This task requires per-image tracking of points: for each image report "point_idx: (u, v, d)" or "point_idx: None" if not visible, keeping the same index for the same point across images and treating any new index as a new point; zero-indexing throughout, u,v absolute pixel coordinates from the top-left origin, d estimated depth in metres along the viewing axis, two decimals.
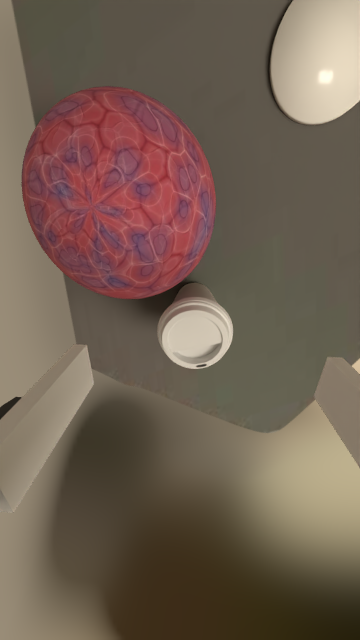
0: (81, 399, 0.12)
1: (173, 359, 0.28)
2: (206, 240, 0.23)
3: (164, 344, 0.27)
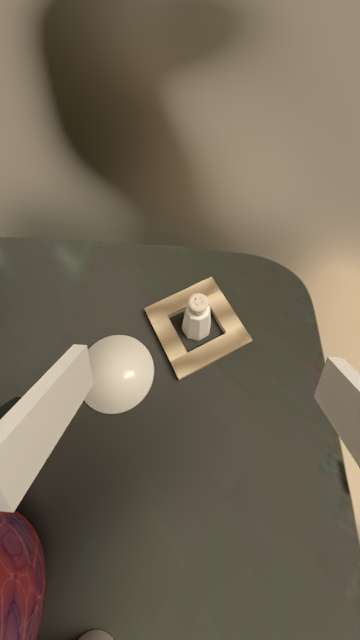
0: (81, 399, 0.12)
1: None
2: None
3: None
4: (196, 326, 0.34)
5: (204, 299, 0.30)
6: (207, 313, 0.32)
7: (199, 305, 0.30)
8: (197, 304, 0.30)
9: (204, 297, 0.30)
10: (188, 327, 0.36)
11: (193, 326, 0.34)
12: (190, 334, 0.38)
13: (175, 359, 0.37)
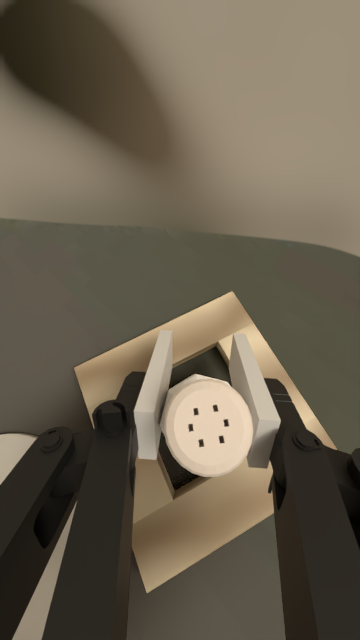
0: (169, 377, 0.14)
1: None
2: None
3: None
4: None
5: (235, 415, 0.07)
6: None
7: (212, 449, 0.07)
8: (204, 441, 0.07)
9: (234, 404, 0.07)
10: None
11: None
12: None
13: (140, 521, 0.14)
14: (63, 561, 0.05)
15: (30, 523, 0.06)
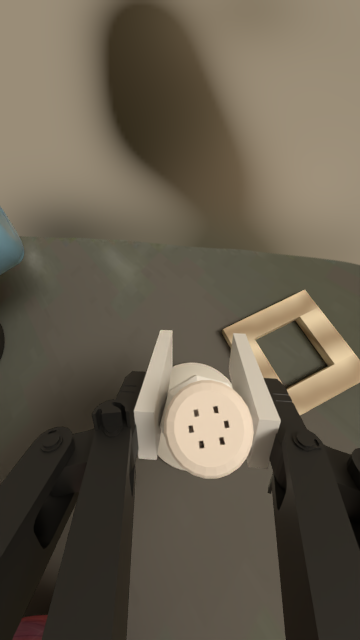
0: (169, 377, 0.14)
1: None
2: None
3: None
4: None
5: (235, 417, 0.07)
6: None
7: (213, 450, 0.07)
8: (204, 442, 0.07)
9: (235, 406, 0.07)
10: None
11: None
12: None
13: None
14: (63, 561, 0.05)
15: (30, 523, 0.06)
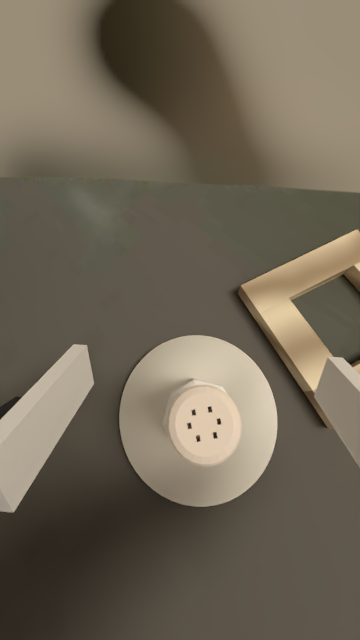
0: (81, 399, 0.12)
1: None
2: None
3: None
4: None
5: (226, 415, 0.08)
6: None
7: (208, 443, 0.08)
8: (200, 436, 0.08)
9: (226, 406, 0.08)
10: None
11: None
12: None
13: None
14: None
15: None
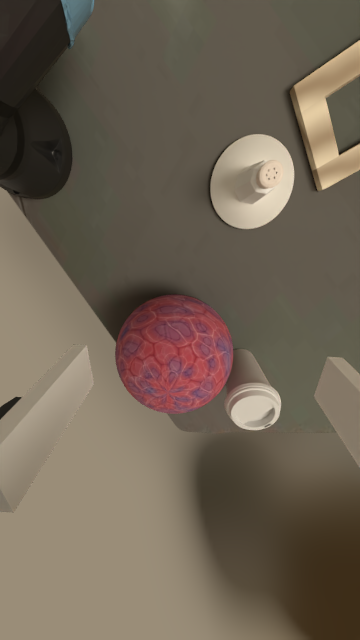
0: (81, 399, 0.12)
1: (246, 428, 0.39)
2: (231, 355, 0.35)
3: (235, 422, 0.38)
4: (258, 196, 0.31)
5: (279, 170, 0.26)
6: None
7: (271, 180, 0.26)
8: (269, 178, 0.26)
9: (279, 167, 0.25)
10: (247, 195, 0.32)
11: (254, 196, 0.31)
12: (246, 200, 0.35)
13: (323, 165, 0.33)
14: None
15: None
